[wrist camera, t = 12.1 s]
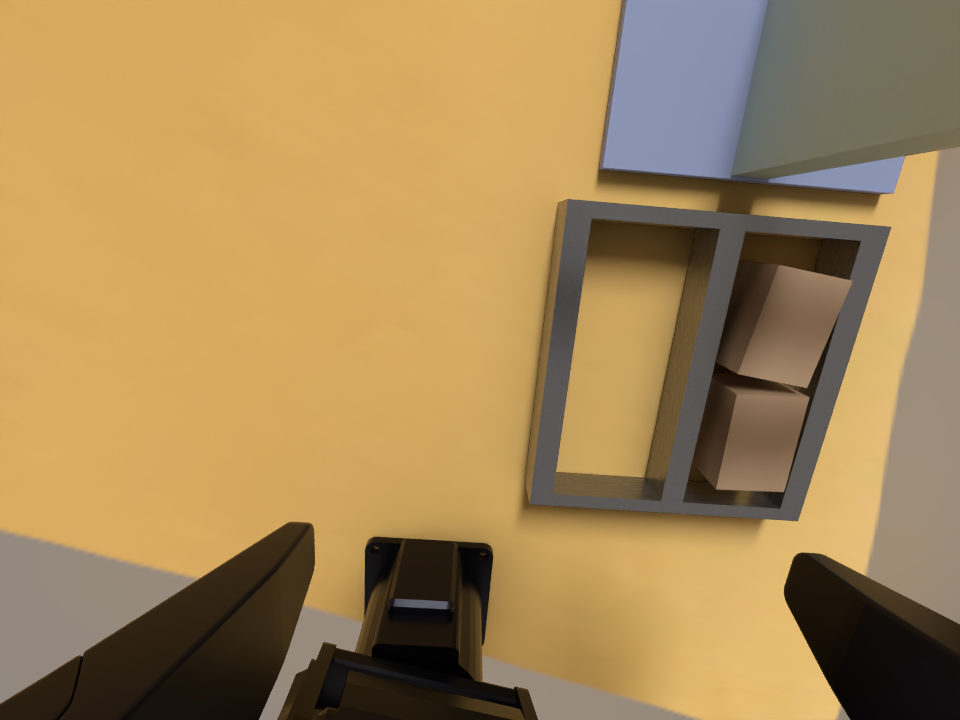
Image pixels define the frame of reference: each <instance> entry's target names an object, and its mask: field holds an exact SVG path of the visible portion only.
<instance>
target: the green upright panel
mask: <svg viewBox="0 0 960 720" xmlns="http://www.w3.org/2000/svg"><path fill="white" fill-rule="evenodd" d="M955 147H960V0H769V1H768V6H767V10H766V15H765V20H764V24H763V29H762V34H761V38H760V43H759V47H758V52H757V57H756V61H755V66H754V71H753V75H752V80H751V84H750V89H749V94H748V98H747V103H746V108H745V112H744V117H743V121H742V126H741V131H740V135H739V140H738V145H737V149H736V154H735V158H734V163H733V168H732V172H731V176H740V177H751V178H763V179H773V178H779V177H785V176H791V175H797V174H802V173H808V172H814V171H820V170H826V169H832V168H838V167H843V166H849V165H855V164H861V163H867V162H873V161H879V160H884V159H890V158H896V157H902V156H908V155H914V154H920V153H926V152H931V151H937V150H943V149H949V148H955Z"/></svg>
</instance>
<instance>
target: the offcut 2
mask: <svg viewBox="0 0 960 720" xmlns="http://www.w3.org/2000/svg"><path fill="white" fill-rule="evenodd" d="M808 401H809V397H808V396H806V395H804V394H802V393H800V392H798V391H796V390H794V389H792V388H790V387H788V386H786V385H784V384H782V383H780V382H775V381H770V380H765V379H760V378H755V377H750V376H745V375H740V374H720V373H713V374H712V378H711V382H710V387H709V391H708V395H707V400H706V404H705V408H704V412H703V417H702V421H701V425H700V430H699V434H698V438H697V443H696V447H695V451H694V455H693V460H692V464H693V465H694V466H695V467H696V468H697V469H698V470H699V471H700V472H701V474H702V475H703V476H704V477H705V478H706V479H707V480H708V481H709V482H710V483H711V484H712V486H713V487H714V488H715V489H719V490H745V491H771V492H784V491H785V487H786V483H787V479H788V476H789V472H790V468H791V464H792V461H793V457H794V453H795V449H796V446H797V442H798V438H799V435H800V431H801V427H802V423H803V420H804V416H805V412H806V408H807V405H808Z"/></svg>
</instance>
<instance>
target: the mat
mask: <svg viewBox="0 0 960 720" xmlns="http://www.w3.org/2000/svg"><path fill="white" fill-rule="evenodd" d="M768 1H769V0H623V3H622V10H621V17H620V24H619V31H618V38H617V45H616V52H615V59H614V66H613V73H612V80H611V88H610V95H609V102H608V109H607V116H606V123H605V130H604V137H603V144H602V151H601V158H600V165H599V170H611V171H622V172H633V173H645V174H656V175H667V176H679V177H690V178H701V179H713V180H724V181H735V182H747V183H758V184H769V185H780V186H792V187H803V188H814V189H826V190H837V191H848V192H860V193H871V194H891V193H894V191H895V187H896V184H897V181H898V178H899V175H900V171H901V168H902V165H903V162H904V159H905V156H902V157H896V158H890V159H884V160H879V161H873V162H867V163H861V164H855V165H849V166H843V167H838V168H832V169H826V170H820V171H814V172H808V173H802V174H797V175H791V176H785V177H779V178H773V179H763V178H751V177H740V176H731V172H732V168H733V163H734V158H735V154H736V149H737V145H738V140H739V135H740V131H741V126H742V121H743V117H744V112H745V108H746V103H747V98H748V94H749V89H750V84H751V80H752V75H753V71H754V66H755V61H756V57H757V52H758V47H759V43H760V38H761V34H762V29H763V24H764V20H765V15H766V10H767V6H768Z"/></svg>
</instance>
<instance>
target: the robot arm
mask: <svg viewBox="0 0 960 720" xmlns="http://www.w3.org/2000/svg"><path fill="white" fill-rule="evenodd" d="M373 546H377V547H379V548H380V549H374V548H373ZM480 553H487V554H486V555H484V556H482V555H480ZM492 563H493V550H492V548H491V546H490V545H488V544H485V543H471V542H455V541H439V540H422V539H405V538H388V537H373V538H371V539H369V541H368V542H367V545H366V549H365V611H364V622H363V625H362V629H361V632H360V636H359V639H358V643H357V646H356V650H355V652H351V651H347V650H343V649H339V648H336V645H334V644H330V643H325V642H324V643H323V645H322V647H321V650H320V652H319V655H318V657H317V660H315V659H312V660H311V662H310V664H309V667H308V669H306V670H304V671H302V672H300V673H297V674H296V676H295V678H294V681H293V683H292V686H291V688H290V691H289V693H288V696H287V699H286V701H285V703H284V706H283V708H282V710H281V713H280V715H279V717H278V719H277V720H538V718H537V715H536V712H535V709H534V706H533V703H532V700H531V697H530V694H529V691H528V690H527V689H523V688H519V687H514V689H511V688H507V687H503V686H498V685H494V684H490V683H485V682H482V645H483V644H484V639H485V630H486V620H487V611H488V601H489V592H490V582H491V572H492ZM314 566H315V544H314V528H313V525H312V524H311V523H305V522H289V523H287V524H285V525H283V526H282V527H280V528H279V529H277V530H276V531H274V532H272V533H271V534H269V535H268V536H266V537H264V538H263V539H261V540H260V541H258V542H257V543H255V544H253V545H252V546H250V547H249V548H247V549H246V550H244V551H242V552H241V553H239V554H238V555H236V556H234V557H233V558H231V559H230V560H228V561H227V562H225V563H223V564H222V565H220V566H219V567H217V568H216V569H214V570H212V571H211V572H209V573H208V574H206V575H205V576H203V577H201V578H200V579H198V580H197V581H195V582H193V583H192V584H190V585H189V586H187V587H186V588H184V589H183V590H181V591H179V592H178V593H176V594H175V595H173V596H171V597H170V598H168V599H167V600H165V601H163V602H162V603H160V604H159V605H157V606H156V607H154V608H153V609H151V610H149V611H148V612H146V613H145V614H143V615H141V616H140V617H139V618H137V619H135V620H134V621H132V622H130V623H129V624H127V625H126V626H124V627H123V628H121V629H119V630H118V631H116V632H115V633H113V634H112V635H110V636H108V637H107V638H105V639H104V640H102V641H100V642H99V643H97V644H96V645H94V646H92V647H91V648H90V649H88V650H86V651H85V652H84V655H83V657H82V656H80V655H79V656H77V657H75V658H73V659H72V660H70V661H69V662H67V663H65V664H64V665H62V666H61V667H59V668H57V669H56V670H54V671H53V672H51V673H50V674H48V675H46V676H45V677H43V678H42V679H40V680H38V681H37V682H35V683H33V684H32V685H30V686H29V687H27V688H25V689H24V690H22V691H20V692H19V693H17V694H15V695H14V696H12V697H11V698H9V699H8V700H6V701H4V702H2V703H1V704H0V720H259V718H260V716H261V713H262V711H263V709H264V707H265V704H266V702H267V700H268V698H269V695H270V693H271V691H272V689H273V686H274V684H275V682H276V680H277V677H278V675H279V672H280V670H281V668H282V665H283V663H284V660H285V657H286V655H287V651H288V649H289V646H290V642H291V640H292V636H293V634H294V630H295V627H296V624H297V621H298V618H299V615H300V612H301V609H302V606H303V603H304V600H305V597H306V594H307V591H308V588H309V585H310V582H311V578H312V575H313V571H314ZM784 597H785V600H786V603H787V605H788V607H789V609H790V611H791V613H792V614H793V616H794V618H795V620H796V622H797V624H798V626H799V628H800V630H801V632H802V634H803V636H804V638H805V639H806V641H807V643H808V645H809V647H810V649H811V651H812V653H813V655H814V657H815V659H816V661H817V663H818V664H819V666H820V668H821V670H822V672H823V674H824V676H825V678H826V680H827V681H828V683H829V685H830V687H831V689H832V691H833V692H834V694H835V696H836V697H837V699H838V701H839V702H840V704H841V706H842V707H843V709H844V710H845V712H846V713H847V715H848V717H849V718H850V720H960V624H958V623H956V622H954V621H952V620H950V619H948V618H946V617H944V616H942V615H940V614H938V613H936V612H934V611H933V610H931V609H929V608H927V607H925V606H923V605H921V604H919V603H917V602H915V601H913V600H911V599H909V598H907V597H905V596H903V595H901V594H899V593H897V592H895V591H893V590H891V589H889V588H887V587H886V586H884V585H881V584H880V583H877V582H876V581H874V580H872V579H870V578H868V577H866V576H864V575H862V574H860V573H858V572H856V571H854V570H852V569H850V568H848V567H846V566H845V565H843V564H841V563H839V562H837V561H835V560H833V559H831V558H829V557H827V556H825V555H822V554H817V553H798V554H797V555H796V556H795V557H794V558H793V561H792V564H791V567H790V570H789V573H788V577H787V580H786V583H785V586H784Z"/></svg>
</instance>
